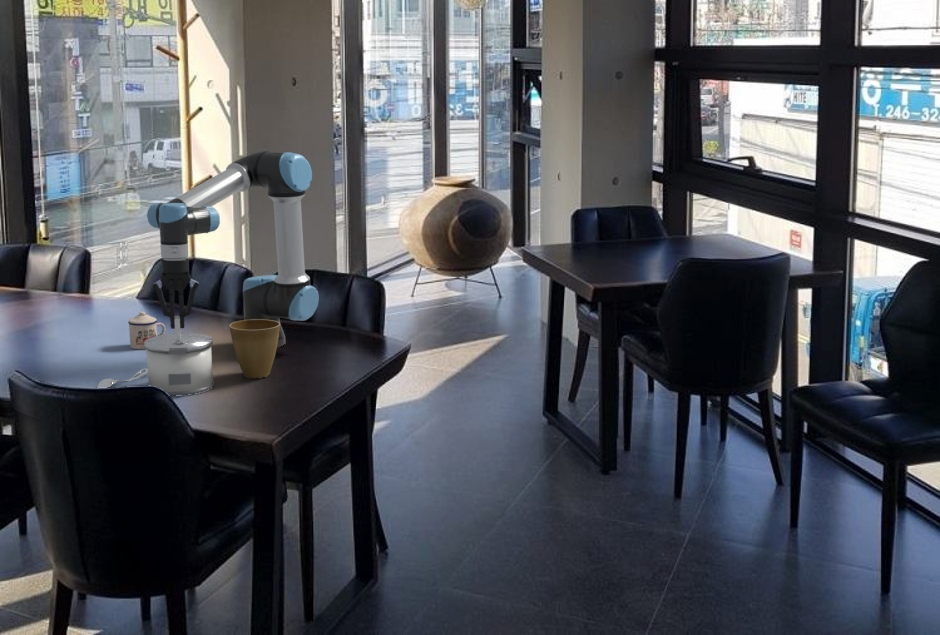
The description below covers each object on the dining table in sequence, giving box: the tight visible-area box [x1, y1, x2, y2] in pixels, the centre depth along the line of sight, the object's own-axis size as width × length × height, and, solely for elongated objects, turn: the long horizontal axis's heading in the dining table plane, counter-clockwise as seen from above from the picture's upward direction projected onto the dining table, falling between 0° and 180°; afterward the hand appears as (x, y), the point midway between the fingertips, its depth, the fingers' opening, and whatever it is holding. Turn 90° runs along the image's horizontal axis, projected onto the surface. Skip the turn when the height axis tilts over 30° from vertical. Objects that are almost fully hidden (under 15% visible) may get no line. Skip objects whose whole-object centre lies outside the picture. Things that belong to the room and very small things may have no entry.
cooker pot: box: [146, 346, 215, 397], centre depth 318 cm, size 19×19×12 cm
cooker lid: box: [144, 332, 214, 354], centre depth 315 cm, size 19×21×2 cm
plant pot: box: [229, 319, 281, 379], centre depth 330 cm, size 15×15×16 cm
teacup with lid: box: [128, 311, 166, 351], centre depth 362 cm, size 12×9×12 cm
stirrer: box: [97, 367, 148, 388], centre depth 323 cm, size 20×4×5 cm
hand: (178, 339), depth 316 cm, fingers closed
